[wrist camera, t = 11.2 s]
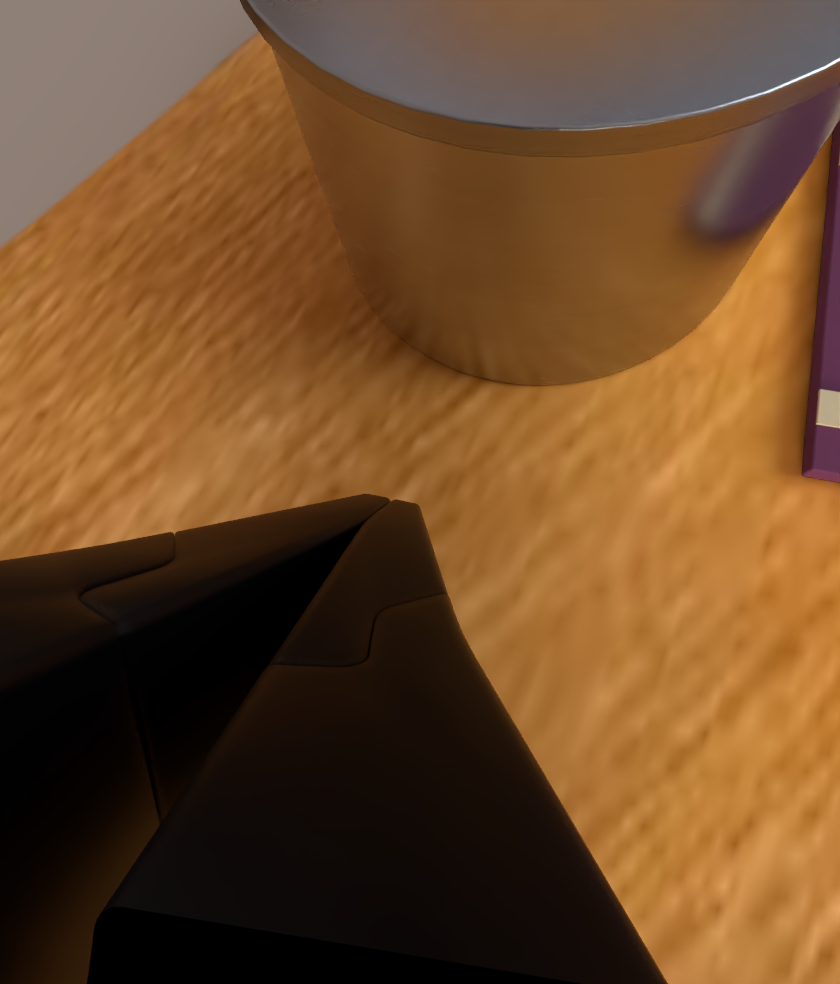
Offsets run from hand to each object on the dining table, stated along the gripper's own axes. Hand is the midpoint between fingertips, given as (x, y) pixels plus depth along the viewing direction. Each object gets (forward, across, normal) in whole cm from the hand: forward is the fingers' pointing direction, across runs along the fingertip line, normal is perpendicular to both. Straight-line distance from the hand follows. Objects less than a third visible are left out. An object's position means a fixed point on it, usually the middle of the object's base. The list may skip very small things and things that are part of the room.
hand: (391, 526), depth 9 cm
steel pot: (+15, 0, +3) cm, 15 cm away
